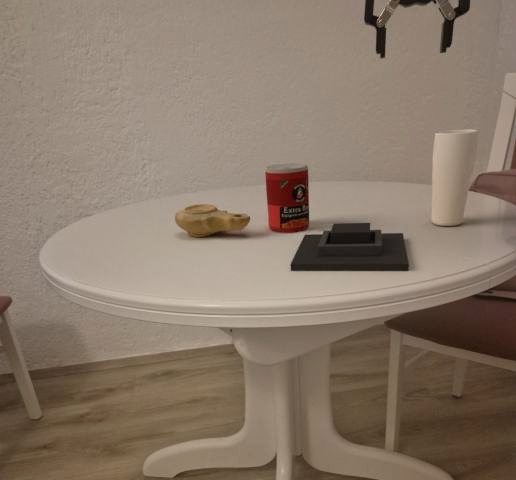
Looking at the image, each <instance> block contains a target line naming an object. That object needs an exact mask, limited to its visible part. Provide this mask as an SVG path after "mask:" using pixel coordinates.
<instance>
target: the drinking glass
mask: <svg viewBox="0 0 516 480" xmlns="http://www.w3.org/2000/svg"><path fill="white" fill-rule="evenodd" d="M478 141H479V130H478V129H450V130H440V131H436V132H435V133H434V139H433V145H432V146H433V147H432V157H431V158H432V160H431V161H432V163H431V212H430V213H431V215H430V222H431V223H432V224H433V225H435V226H438V227H439V226H440V227H455V226H459V225H461V224H463V221H464V217H465V210H466V205H467V199H468V195H469V189H470V186H471V181H472V176H473V171H474V166H475V162H476V156H477V150H478Z"/></svg>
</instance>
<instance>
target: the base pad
mask: <svg viewBox="0 0 516 480" xmlns="http://www.w3.org/2000/svg"><path fill="white" fill-rule="evenodd" d="M409 266H410V262H409V258H408V252H407V247H406V242H405V237H404V233H403V232H387V233H386V232H382V229H370V244H331V230H323V231H322V233H319V234H316V233H315V234H304V235H303V237H302V240H301V242H300V244H299V246H298V248H297V250H296V252H295V254H294V255H293V258H292V260H291V262H290V271H304V272H305V271H307V272H308V271H319V272H320V271H321V272H322V271H325V272H326V271H328V272H329V271H330V272H331V271H334V272H335V271H337V272H338V271H341V272H342V271H343V272H345V271H349V272H350V271H351V272H352V271H353V272H355V271H359V272H360V271H361V272H363V271H368V272H369V271H371V272H372V271H373V272H374V271H375V272H376V271H378V272H381V271H383V272H384V271H386V272H387V271H388V272H389V271H393V272H395V271H396V272H397V271H399V272H400V271H401V272H403V271H404V272H405V271H406V272H407V271H408V272H409V268H410V267H409Z"/></svg>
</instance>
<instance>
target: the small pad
mask: <svg viewBox="0 0 516 480" xmlns="http://www.w3.org/2000/svg"><path fill="white" fill-rule="evenodd" d="M370 230H371V222H344V223H343V222H342V223H341V222H340V223H338V222H337V223H332V226H331V229H330V231H331V244H370Z"/></svg>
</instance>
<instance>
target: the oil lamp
mask: <svg viewBox="0 0 516 480" xmlns="http://www.w3.org/2000/svg"><path fill="white" fill-rule="evenodd" d="M174 221H175V224H176V225H177V226H178V227H179V228H180V229H182V230H183V231H186V232H187V234H188V235H189V236H190V237H193V238H204V237H205V238H206V237H209V236H212V235H214V234H215V233H219V232H237V231H242V230H244V229H245V228H246V227H247V226H248V225H249V223H250V221H251V216H250V215H248V214H247V213H232V212H229V211H227V210H220V209H218V208H217V206H216V205H214V204H193V205H189V206H186V207H184V208H183V209H182V210H179V211H177V212H176V213H175V215H174Z"/></svg>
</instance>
